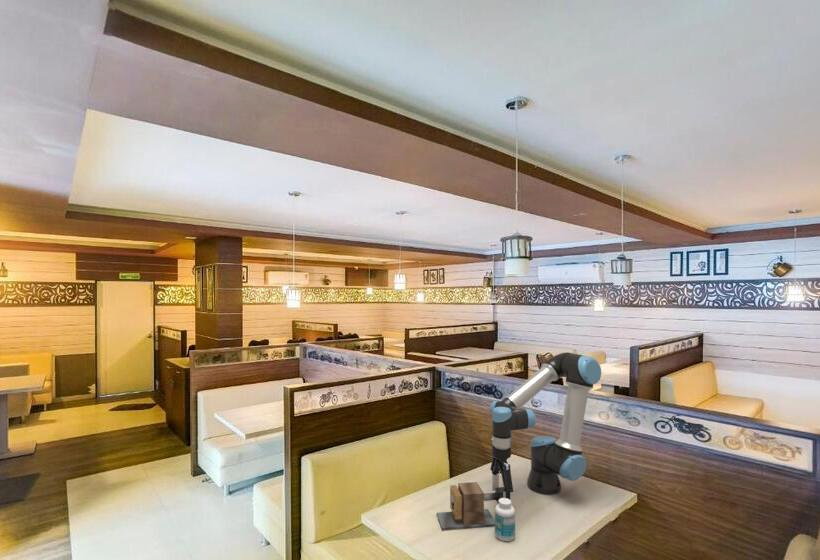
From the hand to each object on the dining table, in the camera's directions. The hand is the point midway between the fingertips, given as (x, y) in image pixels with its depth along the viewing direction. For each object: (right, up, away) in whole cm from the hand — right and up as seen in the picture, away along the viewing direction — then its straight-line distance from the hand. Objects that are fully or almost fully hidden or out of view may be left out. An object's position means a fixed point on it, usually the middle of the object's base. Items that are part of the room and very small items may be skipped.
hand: (501, 498), depth 171 cm
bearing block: (-15, -8, -2) cm, 17 cm away
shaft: (-9, -2, -1) cm, 9 cm away
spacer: (-19, -5, -2) cm, 20 cm away
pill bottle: (-1, -8, -13) cm, 15 cm away
